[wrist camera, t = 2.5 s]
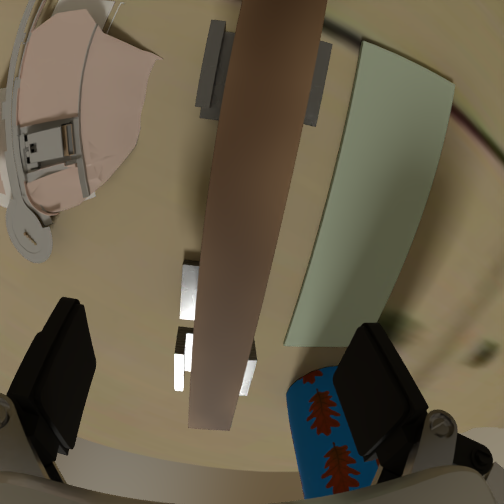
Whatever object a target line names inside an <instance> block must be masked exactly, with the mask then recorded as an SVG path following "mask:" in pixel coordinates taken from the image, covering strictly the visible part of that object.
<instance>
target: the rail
mask: <svg viewBox="0 0 504 504" xmlns="http://www.w3.org/2000/svg"><path fill="white" fill-rule="evenodd" d="M326 5H327V0H242V5H241V9H240V14H239V18H238V23H237V27H236V32H235V37H234V41H233V46H232V51H231V56H230V61H229V67H228V72H227V77H226V83H225V88H224V94H223V99H222V105H221V111H220V117H219V123H218V129H217V135H216V141H215V148H214V154H213V161H212V168H211V175H210V182H209V190H208V197H207V205H206V213H205V221H204V229H203V238H202V246H201V255H200V265H199V275H198V285H197V296H196V307H195V319H194V331H193V345H192V360H191V377H190V396H189V420H188V428H194V429H208V430H226V431H230V427H231V424H232V420H233V416H234V412H235V409H236V405H237V401H238V397H239V394H240V390H241V386H242V382H243V378H244V375H245V371H246V367H247V363H248V359H249V355H250V351H251V347H252V343H253V339H254V335H255V331H256V327H257V323H258V319H259V315H260V311H261V307H262V303H263V299H264V295H265V291H266V287H267V282H268V278H269V274H270V270H271V266H272V262H273V257H274V253H275V249H276V245H277V240H278V236H279V232H280V227H281V223H282V219H283V214H284V210H285V205H286V201H287V196H288V192H289V188H290V183H291V178H292V174H293V169H294V165H295V160H296V156H297V151H298V146H299V142H300V137H301V132H302V127H303V123H304V118H305V113H306V108H307V103H308V99H309V94H310V89H311V84H312V79H313V74H314V69H315V64H316V58H317V53H318V48H319V43H320V38H321V32H322V27H323V21H324V16H325V11H326Z"/></svg>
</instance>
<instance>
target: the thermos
mask: <svg viewBox="0 0 504 504" xmlns="http://www.w3.org/2000/svg"><path fill="white" fill-rule="evenodd" d="M337 367H338V366H334V367H325V368H322V369H319V370H316V371H313V372H311V373H309V374H307V375H305V376H303V377H301V378H299V379H298V380H297V381H296V382H295V383H294V384H293V385H292V386H290V388H289V390H288V392H287V394H286V398H287V408H288V415H289V423H290V429H291V434H292V439H293V444H294V449H295V454H296V459H297V464H298V469H299V474H300V479H301V484H302V489H303V494H304V499H311V498H317V497H323V496H328V495H333V494H338V493H343V492H347V491H352V490H356V489H360V488H364V487H368V486H370V485H371V483H372V481H373V479H374V476H375V474H376V472H377V469H378V467H379V464H380V463H379V460H378V459H376V460H372V461H368V462H364V459H363V457H362V456H360V455H359V454H358V452H357V449H356V446H355V443H354V440H353V437H352V434H351V432H350V429H349V426H348V423H347V420H346V418H345V415H344V412H343V409H342V406H341V404H340V401H339V398H338V396H337V393H336V390H335V387H334V385H333V375H334V373H335V371H336V369H337Z"/></svg>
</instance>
